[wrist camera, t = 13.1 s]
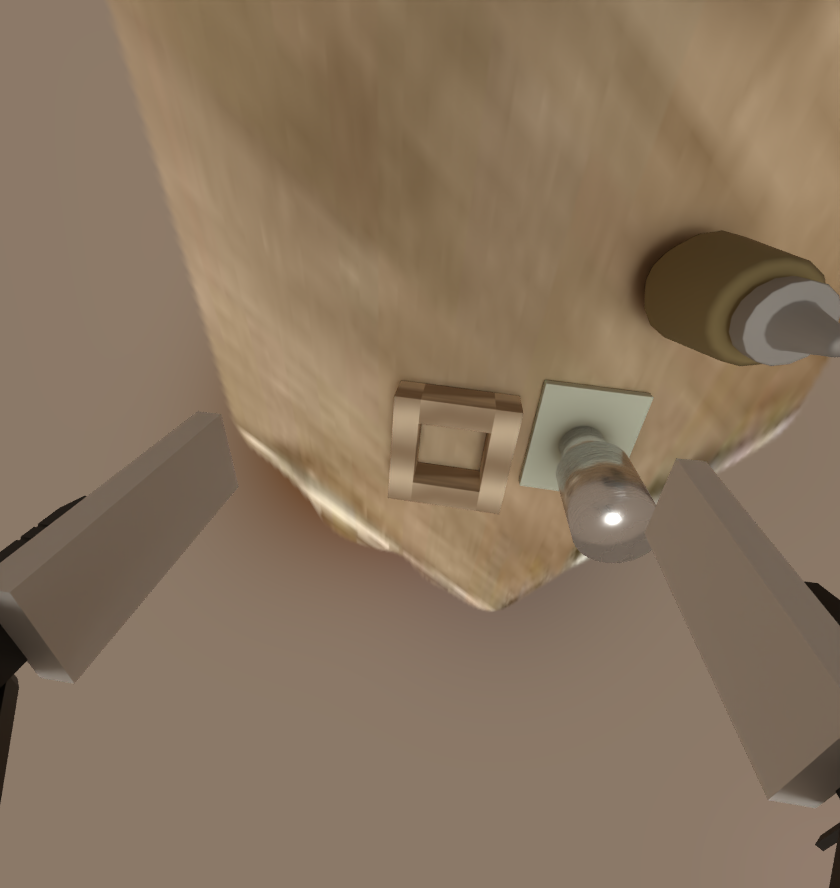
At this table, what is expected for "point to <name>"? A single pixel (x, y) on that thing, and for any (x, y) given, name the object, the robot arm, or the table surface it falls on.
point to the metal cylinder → (602, 497)
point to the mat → (579, 424)
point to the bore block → (460, 412)
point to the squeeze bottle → (742, 301)
